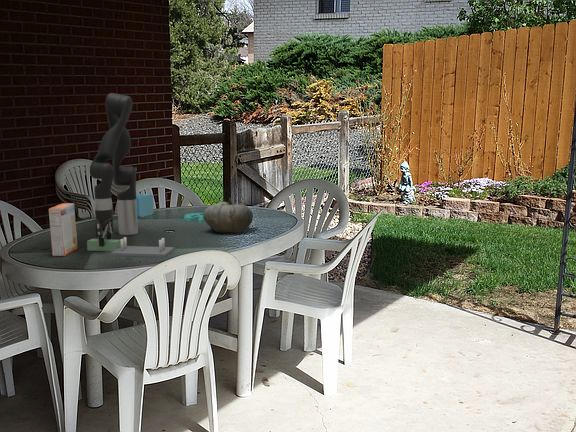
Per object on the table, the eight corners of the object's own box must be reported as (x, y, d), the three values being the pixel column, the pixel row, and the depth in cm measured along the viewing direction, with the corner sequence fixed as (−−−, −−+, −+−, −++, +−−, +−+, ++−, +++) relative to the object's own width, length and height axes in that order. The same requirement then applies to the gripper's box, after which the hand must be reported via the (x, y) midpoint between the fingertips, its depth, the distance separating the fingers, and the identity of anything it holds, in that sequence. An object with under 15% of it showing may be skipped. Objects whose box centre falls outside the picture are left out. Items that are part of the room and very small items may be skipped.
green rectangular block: (92, 248, 306) (92, 238, 306) (121, 249, 304) (121, 239, 303) (87, 251, 302) (86, 241, 301) (117, 252, 299) (116, 242, 298)
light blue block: (147, 214, 394) (146, 193, 392) (153, 214, 392) (153, 193, 390) (133, 217, 384) (132, 196, 382) (140, 217, 382) (139, 196, 380)
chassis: (122, 248, 304) (122, 234, 303) (174, 249, 301) (174, 236, 300) (110, 255, 291) (109, 241, 290) (164, 257, 288) (164, 242, 286)
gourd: (204, 232, 327) (207, 196, 327) (199, 231, 351) (201, 197, 351) (256, 234, 332) (258, 199, 332) (247, 233, 357) (249, 200, 357)
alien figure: (227, 218, 380) (202, 215, 392) (226, 214, 379) (202, 211, 392) (200, 224, 365) (175, 220, 377) (200, 220, 364) (175, 216, 377)
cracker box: (65, 249, 304) (62, 202, 300) (78, 249, 303) (75, 203, 300) (51, 256, 290) (47, 208, 287) (64, 256, 290) (61, 208, 286)
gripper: (105, 210, 292) (107, 248, 294) (117, 206, 306) (119, 241, 308) (88, 210, 293) (90, 247, 295) (101, 205, 307) (103, 241, 309)
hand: (105, 244), depth 302 cm, fingers open, 8 cm apart
